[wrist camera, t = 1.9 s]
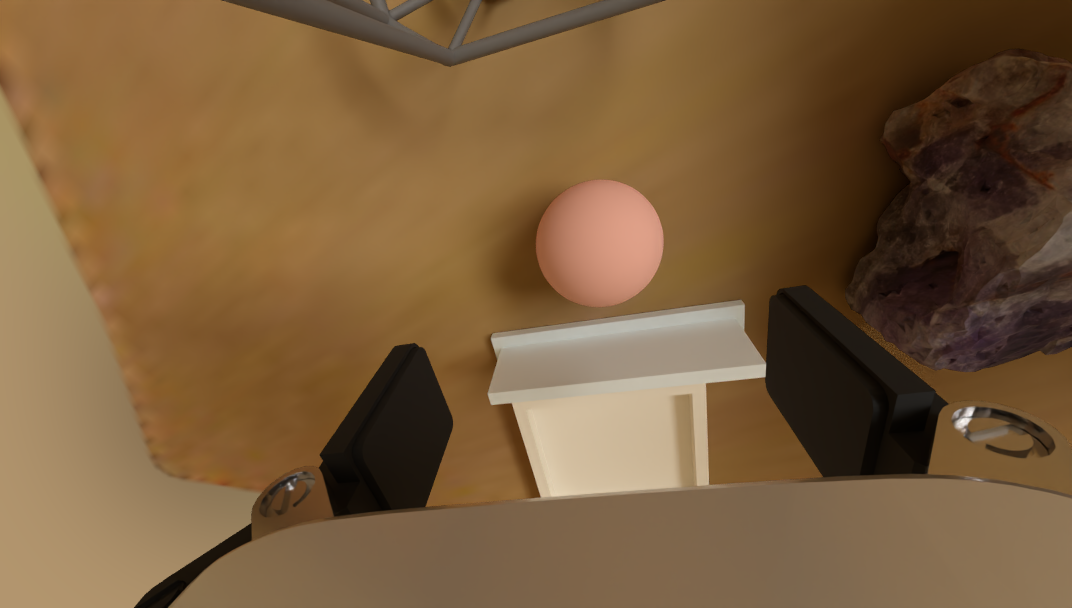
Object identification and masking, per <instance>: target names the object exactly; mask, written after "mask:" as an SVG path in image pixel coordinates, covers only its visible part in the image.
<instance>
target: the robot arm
mask: <svg viewBox="0 0 1072 608" xmlns="http://www.w3.org/2000/svg"><path fill="white" fill-rule="evenodd" d="M765 383H766V388H767V391H768V393H769V395H770V397H771V398H772V400H773V401H774V403H775V404H776V406H777V407H778V409H779V410H780V412H781V413H782V415H783V416H784V418H785V419H786V421H787V423H788V424H789V426H790V427H791V429H792V430H793V432H794V433H795V435H796V436H797V438H798V439H799V441H800V442H801V444H802V445H803V447H804V448H805V450H806V451H807V453H808V454H809V456H810V457H811V459H812V461H813V462H814V464H815V465H816V467H817V468H818V470H819V471H820V473H821V474H822V476H823V477H822V478H807V479H790V480H773V481H759V482H745V483H731V484H717V485H703V486H689V487H674V488H660V489H647V490H634V491H620V492H607V493H594V494H581V495H568V496H555V497H542V498H529V499H517V500H505V501H493V502H480V503H468V504H456V505H444V506H432V507H425V506H426V503H427V500H428V498H429V495H430V492H431V489H432V486H433V483H434V480H435V478H436V475H437V472H438V469H439V466H440V463H441V460H442V457H443V455H444V452H445V449H446V446H447V443H448V440H449V437H450V434H451V432H452V428H453V419H452V415H451V413H450V410H449V408H448V406H447V403H446V401H445V398H444V396H443V393H442V391H441V388H440V386H439V383H438V381H437V378H436V376H435V373H434V371H433V369H432V366H431V364H430V361H429V359H428V356H427V354H426V351H425V350H424V348H422V347H419V346H418V345H417V344H415V343H412V344H405V345H399V346H395V347H394V348H393V349H392V350H391V352H390V353H389V355H388V356H387V358H386V359H385V361H384V362H383V364H382V365H381V366H380V368H379V369H378V371H377V372H376V374H375V375H374V377H373V378H372V379H371V381H370V382H369V384H368V385H367V387H366V388H365V390H364V391H363V393H362V394H361V395H360V397H359V398H358V400H357V401H356V403H355V404H354V406H353V407H352V409H351V410H350V411H349V413H348V414H347V416H346V417H345V419H344V420H343V422H342V423H341V424H340V426H339V427H338V429H337V430H336V432H335V433H334V435H333V436H332V438H331V439H330V440H329V442H328V443H327V445H326V446H325V448H324V449H323V451H322V452H321V454H320V456H321V458H322V460H323V462H322V464H321V465H320V467H319V468H317V467H314V466H304V467H300V468H297V469H294V470H292V471H290V472H288V473H286V474H284V475H282V476H281V477H279V478H278V479H276V480H275V481H274V482H273V483H271V484H270V485H269V486H268V487H267V488H266V489H265V490H264V491H263V492H262V493H261V495H260V496H259V497H258V498H257V500H256V502H255V504H254V505H253V508H252V514H251V522H252V523H251V524H249V525H248V526H246V527H245V528H243V529H242V530H240V531H239V532H237V533H236V534H234V535H232V536H231V537H229V538H228V539H226V540H225V541H223V542H222V543H220V544H219V545H217V546H216V547H214V548H213V549H211V550H209V551H208V552H206V553H205V554H203V555H202V556H200V557H199V558H197V559H196V560H194V561H192V562H191V563H189V564H188V565H186V566H185V567H183V568H182V569H180V570H179V571H177V572H176V573H174V574H172V575H171V576H169V577H168V578H166V579H165V580H164V581H163V582H161V583H159V584H158V585H156V586H155V587H153V588H152V589H151V590H150V591H149V592H148V593H146V594H145V595H144V596H143V597H142V599H141V600H140V601H139V602H138V604H137V605H136V606H135V607H134V608H1072V449H1071V447H1070V445H1069V443H1068V440H1067V439H1066V438H1065V437H1064V436H1063V435H1062V434H1061V433H1060V432H1059V431H1058V430H1057V429H1056V428H1054V427H1053V426H1051V425H1049V424H1048V423H1046V422H1045V421H1043V420H1041V419H1040V418H1037V417H1035V416H1033V415H1031V414H1028V413H1026V412H1024V411H1022V410H1018V409H1015V408H1012V407H1008V406H1005V405H1002V404H996V403H991V402H985V401H960V402H954V403H951V404H948V403H947V402H946V401H945V400H943V399H942V398H941V397H940V396H939V395H937V394H936V393H935V392H936V391H935V390H934V389H933V388H931V387H930V386H929V385H928V384H927V383H925V382H924V381H923V380H922V379H920V378H919V377H918V376H917V375H916V374H914V373H913V372H912V371H911V370H909V369H908V368H907V367H906V366H905V365H903V364H902V363H901V362H900V361H898V360H897V359H896V358H895V357H894V356H892V355H891V354H890V353H889V352H887V351H886V350H885V349H884V348H883V347H881V346H880V345H879V344H878V343H876V342H875V341H874V340H873V339H872V338H870V337H869V336H868V335H867V334H865V333H864V332H863V331H862V330H861V329H859V328H858V327H857V326H856V325H854V324H853V323H852V322H851V321H850V320H848V319H847V318H846V317H845V316H843V315H842V314H841V313H840V312H839V311H837V310H836V309H835V308H834V307H832V306H831V305H830V304H829V303H828V302H826V301H825V300H824V299H823V298H821V297H820V296H819V295H818V294H817V293H815V292H814V291H813V290H812V289H810V288H809V287H808V286H806V285H803V286H796V287H790V288H783V289H779V290H778V292H777V295H774V296H771V298H770V302H769V320H768V339H767V358H766V377H765Z"/></svg>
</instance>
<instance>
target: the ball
mask: <svg viewBox="0 0 1072 608" xmlns="http://www.w3.org/2000/svg"><path fill="white" fill-rule="evenodd" d="M663 245H664V241H663V230H662V226H661V223H660V220H659V217H658V215H657V213H656V211H655V209H654V208H653V206H652V205H651V203H650V202H649V201H648V200H647V199H646V198H645V197H644V196H643V195H642V194H641V193H639V192H638V191H637V190H635V189H634V188H632V187H630V186H628V185H626V184H623V183H620V182H617V181H612V180H591V181H586V182H582V183H579V184H577V185H574V186H572V187H570V188H568V189H567V190H565V191H564V192H562V193H561V194H560V195H558V196H557V197H556V198H555V199H554V200H553V201H552V203H551V204H550V205H549V206H548V208H547V209H546V211H545V213H544V215H543V216H542V218H541V221H540V223H539V227H538V230H537V237H536V254H537V259H538V262H539V266H540V269H541V271H542V273H543V275H544V277H545V278H546V280H547V281H548V282H549V284H550V285H551V286H552V287H553V288H554V289H555V290H556V291H557V292H558V293H559V294H560V295H562V296H563V297H565V298H566V299H568V300H570V301H572V302H575V303H577V304H581V305H584V306H590V307H607V306H613V305H616V304H619V303H622V302H624V301H627V300H629V299H630V298H632V297H634V296H635V295H637V294H638V293H639V292H640V291H642V290H643V289H644V288H645V287H646V286H647V285H648V283H649V282H650V281H651V280H652V278H653V276H654V275H655V273H656V271H657V269H658V267H659V264H660V262H661V258H662V254H663Z"/></svg>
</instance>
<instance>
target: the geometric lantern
mask: <svg viewBox="0 0 1072 608" xmlns="http://www.w3.org/2000/svg"><path fill="white" fill-rule="evenodd" d="M222 1H226V2H229V3H233V4H236V5H240V6H243V7H247V8H250V9H254V10H257V11H261V12H264V13H268V14H271V15H275V16H278V17H282V18H285V19H289V20H292V21H296V22H299V23H303V24H306V25H310V26H313V27H317V28H320V29H324V30H327V31H331V32H334V33H338V34H341V35H344V36H348V37H351V38H355V39H358V40H362V41H365V42H369V43H372V44H376V45H379V46H383V47H386V48H390V49H393V50H397V51H400V52H404V53H407V54H411V55H414V56H418V57H421V58H424V59H428V60H431V61H434V62H438V63H441V64H443V65H445V66H449V67H451V66H454V65H457V64H461V63H464V62H467V61H470V60H474V59H477V58H480V57H483V56H487V55H490V54H493V53H496V52H499V51H503V50H506V49H509V48H512V47H516V46H519V45H522V44H525V43H529V42H532V41H535V40H538V39H542V38H545V37H548V36H551V35H555V34H558V33H561V32H564V31H568V30H571V29H574V28H577V27H581V26H584V25H587V24H590V23H594V22H597V21H600V20H603V19H607V18H610V17H613V16H616V15H619V14H623V13H626V12H629V11H632V10H636V9H639V8H642V7H645V6H649V5H652V4H655V3H658V2H662V1H665V0H603V1H599V2H596V3H593V4H590V5H587V6H584V7H581V8H578V9H574V10H571V11H568V12H565V13H562V14H559V15H556V16H552V17H549V18H546V19H543V20H540V21H537V22H534V23H530V24H527V25H524V26H521V27H518V28H515V29H512V30H508V31H505V32H502V33H499V34H496V35H493V36H490V37H486V38H483V39H480V40H477V41H474V42H471V43H468V44H464V45H462V43H463V40H464V38H465V36H466V34H467V32H468V30H469V27H470V25H471V23H472V21H473V19H474V16H475V14H476V12H477V10H478V8H479V6H480V3H481V1H482V0H471V1H470V3H469V5H468V7H467V9H466V12H465V14H464V16H463V18H462V20H461V22H460V24H459V26H458V29H457V31H456V33H455V35H454V37H453V39H452V41H451V44H450V46H449V48H448V49H447V48H445V47H443V46H440V45H438V44H435V43H434V42H432V41H430V40H428V39H427V38H425V37H423V36H421V35H419V34H418V33H416V32H414V31H412V30H411V29H409V28H407V27H405V26H404V25H402V24H400V23H399V22H397V20H399V19H401V18H403V17H404V16H406V15H408V14H410V13H411V12H413V11H415V10H417V9H418V8H420V7H422V6H424V5H425V4H427V3H429V2H431V1H432V0H408V1H406V2H404V3H402V4H401V5H399V6H397V7H395V8H393V9H392V10H390V11H389V10H388V7H387V4H386V1H385V0H370V3H371V5H370V4H368V3H366V2H364V1H362V0H222Z"/></svg>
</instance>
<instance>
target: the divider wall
mask: <svg viewBox="0 0 1072 608" xmlns="http://www.w3.org/2000/svg"><path fill="white" fill-rule="evenodd" d="M744 318H745V304H744V303H743V302H742V300H735V301H728V302H720V303H713V304H705V305H698V306H691V307H683V308H676V309H669V310H661V311H654V312H647V313H639V314H632V315H624V316H617V317H610V318H602V319H595V320H588V321H580V322H573V323H566V324H558V325H551V326H543V327H536V328H529V329H521V330H514V331H507V332H499V333H492V336H491V341H492V344H493V348H494V351H495V354H496V357H497V360H498V361H497V364H496V367H495V371H494V374H493V377H492V380H491V384H490V387H489V390H488V397H489V400H490V403H491V405H497V404H507V403H516V402H526V401H536V400H546V399H556V398H566V397H575V396H585V395H595V394H605V393H615V392H625V391H634V390H644V389H654V388H664V387H674V386H683V385H693V384H703V383H713V382H723V381H733V380H742V379H752V378H762V377H766V362H765V361H764V359H763V358H762V357H761V355H760V354H759V352H758V351H757V349H756V348H755V346H754V345H753V343H752V342H751V340H750V339H749V337H748V336H747V335H746V333H745V332H744Z"/></svg>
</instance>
